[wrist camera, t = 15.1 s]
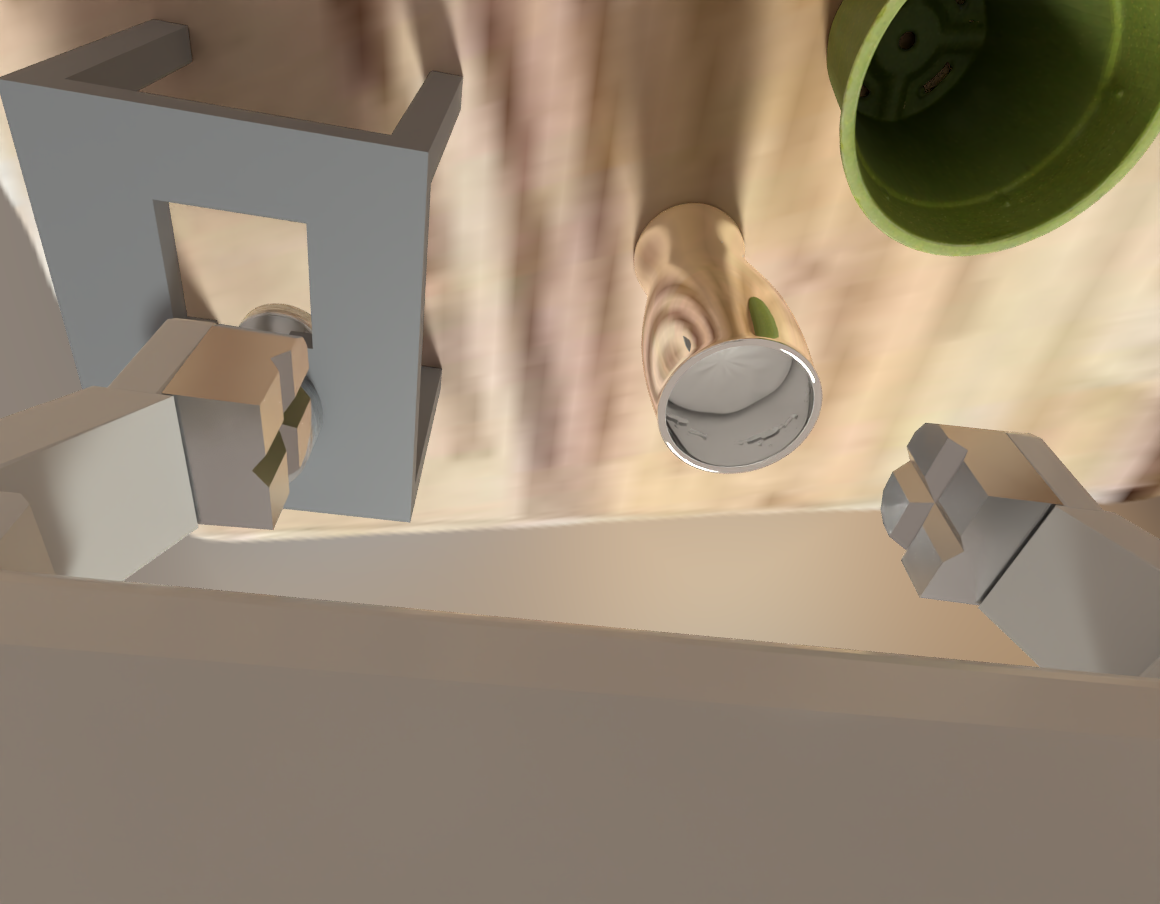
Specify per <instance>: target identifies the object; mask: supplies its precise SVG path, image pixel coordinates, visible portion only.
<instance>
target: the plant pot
mask: <svg viewBox="0 0 1160 904" xmlns="http://www.w3.org/2000/svg"><path fill="white" fill-rule="evenodd" d="M970 20H973V21H974V22H970ZM906 32H912V33H914V35H915V43H914V45H913V46H912V47H911V48H910V49H907V50H905V49H902V48H900V46H899V40H900V38H901V36H902V35H903V34H904V33H906ZM947 62H948V63H949V64H950V66H951V67H952V69H951V71H950V72H949V74H948V75H947V76H946V77H945V78H944V79H943V80H942V81H941V82H940V83H939V84H938V85H937V86H936V87H935V88H934V89H933V90H932V91H930V92H929V93H925V89H924V88H923V85H924V84H926V83H927V82H929V81H930V80H931V79H932V78H933V77H934V76H935V75H936V74H937V73H938V72H939V71H941V69H942V68H943V67H944V66H945V64H946V63H947ZM827 69H828V75H829V78H830V82H831V85H832V88H833V91H834V93H835V96H836V99H837V102H838V104H839V107H840V109H841V117H840V152H841V159H842V164H843V168H844V172H845V175H846V178H847V182H848V184H849V187H850V189H851V192H852V194H853V196H854V198H855V200H856V202H857V203H858V205H859V207H860V208H861V209H862V211H863V212H864V214H865V215H866V216H867V217H868V219H869V220H870V221H871V222H872V223H873V224H874V225H875V226H876V227H877V228H879V229H880V230H881V231H882V232H883V233H885V234H886V235H887V236H889V237H890V238H892V239H894V240H895V241H897V242H899V243H901V244H903V245H905V246H907V247H910V248H912V249H915V250H919V251H922V252H926V253H930V254H935V255H943V256H971V255H980V254H987V253H992V252H998V251H1002V250H1006V249H1009V248H1013V247H1016V246H1018V245H1021V244H1023V243H1026V242H1029V241H1031V240H1033V239H1035V238H1038V237H1040V236H1043V235H1045V234H1047V233H1049V232H1051V231H1053V230H1055V229H1056V228H1058V227H1060V226H1062V225H1063V224H1065V223H1067V222H1068V221H1070V220H1071V219H1073V218H1074V217H1076V216H1077V215H1079V214H1080V213H1082V212H1083V211H1085V210H1086V209H1087V208H1089V207H1090V206H1091V205H1093V204H1094V203H1095V202H1097V201H1098V200H1099V199H1100V198H1101V197H1102V196H1103V195H1105V194H1106V193H1107V192H1108V191H1109V190H1111V189H1112V188H1113V187H1114V186H1115V185H1116V184H1117V183H1118V182H1119V181H1120V180H1121V179H1122V178H1123V177H1124V176H1125V175H1126V174H1127V173H1128V172H1129V171H1130V170H1131V169H1132V168H1133V167H1134V165H1135V164H1136V163H1137V162H1138V161H1139V159H1140V158H1141V157H1142V156H1143V154H1144V153H1145V152H1146V151H1147V149H1148V148H1149V146H1150V145H1151V144H1152V142H1153V141H1154V139H1155V138H1156V136H1157V135H1158V134H1159V132H1160V0H966V1H965V2H964V3H963V4H958V3H957V2H956V0H843V1H842V3H841V5H840V7H839V9H838V11H837V13H836V15H835V17H834V20H833V22H832V26H831V30H830V33H829V40H828V46H827ZM862 84H863V85H864V86H865V87H866V88H867V89H868V90H869V91H870V93H869V94H868V95H867V96H865V97H859V96H860V91H861V87H862ZM904 105H905V106H904Z"/></svg>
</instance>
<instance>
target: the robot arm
mask: <svg viewBox="0 0 1160 904" xmlns="http://www.w3.org/2000/svg"><path fill="white" fill-rule="evenodd" d="M308 369H309V363H308V351H307V344H306V342H305V340H304V338H303V337H301V336H294V335H288V334H281V333H275V332H269V331H262V330H256V329H249V328H243V327H236V326H230V325H223V324H218V325H217V324H216V323H214V322H205V321H197V320H189V319H180V318H173V319H168V320H166V321H165V322H164V323H163V325H162V326H161V327H160V328H159V329H158V330H157V331H156V332H155V334H154V335H153V336H152V337H151V338H150V339H149V340H148V342H147V343H146V344H145V345H144V346H143V347H142V348H141V350H140V351H139V352H138V353H137V354H136V355H135V356H134V358H133V359H132V360H131V361H130V362H129V363H128V364H127V366H126V367H125V368H124V369H123V370H122V371H121V372H120V374H119V375H118V376H117V377H116V378H115V379H114V380H113V382H112V383H111V384H110V385H109V386H108V387H98V386H91V387H88V388H85V389H83V390H80V391H77V392H74V393H72V394H69V395H66V396H63V397H60V398H57V399H55V400H52V401H49V402H46V403H43V404H40V405H37V406H35V407H32V408H29V409H26V410H24V411H21V412H18V413H15V414H12V415H9V416H6V417H3V418H1V419H0V904H1160V539H1158V538H1157V537H1155V536H1153V535H1151V534H1150V533H1148V532H1146V531H1145V530H1143V529H1141V528H1140V527H1138V526H1136V525H1135V524H1133V523H1131V522H1130V521H1128V520H1126V519H1125V518H1123V517H1121V516H1120V515H1118V514H1116V513H1114V512H1107V511H1103V510H1102V508H1101V507H1100V506H1099V505H1098V504H1097V503H1096V501H1095V500H1094V499H1093V498H1092V497H1091V496H1090V494H1089V493H1088V492H1087V491H1086V490H1085V489H1084V487H1083V486H1082V485H1081V484H1080V483H1079V482H1078V481H1077V479H1076V478H1075V477H1074V476H1073V475H1072V474H1071V472H1070V471H1069V470H1068V469H1067V468H1066V467H1065V465H1064V464H1063V463H1062V462H1061V461H1060V460H1059V458H1058V457H1057V456H1056V455H1055V454H1054V453H1053V451H1052V450H1051V449H1050V448H1049V447H1048V446H1047V444H1046V443H1045V442H1044V441H1043V440H1042V439H1041V438H1039V437H1037V436H1035V435H1032V434H1030V433H1019V432H1009V431H998V430H988V429H979V428H969V427H960V426H951V425H942V424H932V423H925V424H924V425H923V426H921V427H920V428H919V429H918V430H917V431H916V432H915V433H914V435H913V437H912V439H911V440H910V442H909V444H908V445H907V450H908V454H909V458H910V461H909V462H907V463H906V464H904V465H902V466H901V467H899V468H898V469H896V470H895V471H893V472H892V474H891V476H890V478H889V480H888V482H887V484H886V486H885V488H884V490H883V497H882V504H881V513H882V519H883V524H884V526H885V528H886V530H887V533H888V535H889V537H891V538H892V539H893V540H894V541H896V542H897V543H898V544H899V545H901V546H902V547H903V548H904V549H905V550H906V551H905V553H904V555H903V558H902V560H901V561H902V563H903V565H904V567H905V569H906V571H907V573H908V575H909V577H910V579H911V581H912V583H913V585H914V587H915V589H916V591H917V593H918V595H919V597H921V598H928V599H936V600H943V601H951V602H959V603H966V604H973V605H980V606H979V609H980V610H981V611H982V612H983V613H984V614H985V615H986V616H987V617H988V618H989V619H990V620H991V621H993V622H994V623H995V624H996V625H997V626H998V627H999V628H1000V629H1001V630H1002V631H1003V632H1004V633H1005V634H1006V635H1007V636H1008V637H1009V638H1010V639H1011V640H1012V641H1013V642H1014V643H1016V644H1017V645H1018V646H1019V647H1020V648H1021V649H1022V650H1023V651H1024V652H1025V653H1026V654H1027V655H1028V656H1029V657H1030V658H1031V659H1032V660H1033V661H1034V662H1035V663H1036V664H1038V665H1039V666H1040V667H1031V666H1020V665H1009V664H999V663H989V662H978V661H967V660H957V659H945V658H936V657H925V656H914V655H904V654H893V653H883V652H872V651H860V650H851V649H840V648H829V647H819V646H807V645H797V644H786V643H774V642H765V641H754V640H743V639H732V638H721V637H710V636H699V635H689V634H679V633H668V632H657V631H647V630H636V629H626V628H615V627H604V626H593V625H583V624H572V623H562V622H551V621H541V620H530V619H519V618H509V617H498V616H487V615H477V614H466V613H455V612H445V611H434V610H424V609H413V608H402V607H392V606H381V605H370V604H360V603H349V602H339V601H328V600H318V599H317V600H316V599H307V598H296V597H286V596H275V595H265V594H254V593H243V592H232V591H222V590H221V591H220V590H212V589H201V588H190V587H180V586H169V585H158V584H147V583H137V582H127V581H124V580H125V579H126V578H128V577H129V576H131V575H132V574H134V573H135V572H136V571H138V570H139V569H141V568H142V567H143V566H145V565H146V564H147V563H149V562H150V561H152V560H153V559H154V558H156V557H157V556H159V555H160V554H162V553H163V552H165V551H166V550H167V549H168V548H170V547H172V546H173V545H174V544H176V543H177V542H178V541H180V540H181V539H183V538H184V537H186V536H187V535H189V534H190V533H191V532H193V531H194V530H196V529H197V528H198V524H205V525H218V526H231V527H243V528H256V529H269V530H273V529H274V527H275V525H276V522H277V520H278V518H279V516H280V513H281V511H282V509H283V506H284V504H285V502H286V500H287V497H288V495H289V479H288V475H290V474H292V473H294V472H295V471H297V470H299V469H300V467H301V465H302V462H303V460H304V457H305V455H306V451H307V446H308V441H309V436H310V430H311V398H310V397H309V396H308V394H307V393H306V392H305V391H304V390H303V388H302V387H301V384H302V382H303V380H304V378H305V376H306V374H307V371H308Z"/></svg>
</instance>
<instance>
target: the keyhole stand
mask: <svg viewBox="0 0 1160 904" xmlns="http://www.w3.org/2000/svg"><path fill="white" fill-rule="evenodd" d="M191 62H192V55H191V47H190V40H189V32H188V26H186V25H181V24H175V23H170V22H165V21H159V20H154V19H153V20H150V21H147V22H145V23H142V24H139V25H137V26H134V27H131V28H129V29H126V30H123V31H121V32H118V33H116V34H113V35H110V36H108V37H105V38H102V39H100V40H97V41H94V42H92V43H89V44H86V45H84V46H81V47H78V48H76V49H73V50H70V51H68V52H65V53H62V54H60V55H57V56H55V57H52V58H49V59H47V60H44V61H41V62H39V63H36V64H33V65H31V66H28V67H25V68H23V69H20V70H17V71H15V72H12V73H9V74H7V75H4V76H1V77H0V95H1V99H2V102H3V106H4V109H5V113H6V117H7V120H8V124H9V127H10V131H11V134H12V138H13V142H14V145H15V149H16V152H17V156H18V160H19V163H20V167H21V170H22V174H23V178H24V181H25V185H26V188H27V192H28V196H29V199H30V203H31V206H32V210H33V213H34V217H35V221H36V224H37V228H38V231H39V235H40V239H41V242H42V246H43V249H44V253H45V257H46V260H47V264H48V267H49V271H50V275H51V278H52V282H53V285H54V289H55V292H56V296H57V300H58V303H59V307H60V310H61V314H62V318H63V321H64V325H65V328H66V332H67V336H68V339H69V343H70V346H71V350H72V354H73V357H74V361H75V364H76V368H77V371H78V375H79V379H80V382H81V386H82V389H85V388H88V387H91V386H98V387H108V386H109V385H110V384H111V383H112V382H113V380H114V379H115V378H116V377H117V376H118V375H119V374H120V372H121V371H122V370H123V369H124V368H125V367H126V366H127V364H128V363H129V362H130V361H131V360H132V359H133V358H134V356H135V355H136V354H137V353H138V352H139V351H140V350H141V348H142V347H143V346H144V345H145V344H146V343H147V342H148V340H149V339H150V338H151V337H152V336H153V335H154V334H155V332H156V331H157V330H158V329H159V328H160V327H161V326H162V325H163V323H164V322H165V321H166V320H168V319H173V318H180V319H189V320H197V321H205V322H214V323H216V324H217V325H218V323H217V320H210V319H203V318H196V317H188V316H187V312H186V306H185V300H184V294H183V288H182V282H181V276H180V270H179V264H178V257H177V251H176V245H175V239H174V233H173V227H172V221H171V215H170V209H169V203H168V202H172V203H179V204H185V205H192V206H198V207H205V208H211V209H217V210H224V211H230V212H237V213H243V214H249V215H256V216H262V217H269V218H275V219H281V220H288V221H294V222H301V223H307V243H308V263H309V283H310V302H311V322H312V334H311V333H304V332H297V331H291V332H290V333H289V335H294V336H301V337H303V338H304V340H305V342H306V344H307V351H308V363H309V369H308V371H307V374H306V377H307V378H308V379H309V380H310V382H311V383H312V384H313V386H314V387H315V389H316V391H317V393H318V395H319V397H320V400H321V404H322V408H323V422H322V427H321V429H320V432H319V434H318V436H317V439H316V441H315V444H314V446H313V448H312V451H311V453H310V455H309V458H308V460H307V462H306V465H305V467H304V469H303V470H302V472H301V473H300V474H299V475H298V476H297V478H295V479H294V480H293V481H292V482H290V483H289V495H288V497H287V500H286V502H285V504H284V506H283V509H292V510H301V511H310V512H319V513H328V514H338V515H347V516H356V517H365V518H374V519H383V520H392V521H402V522H410V521H411V517H412V512H413V508H414V504H415V499H416V495H417V490H418V486H419V482H420V477H421V473H422V468H423V464H424V459H425V455H426V451H427V446H428V442H429V437H430V433H431V429H432V424H433V420H434V415H435V411H436V406H437V402H438V398H439V393H440V388H441V374H442V369H439V368H432V367H425V366H421V361H422V342H423V323H424V304H425V285H426V266H427V246H428V227H429V208H430V189H431V182H432V179H433V177H434V174H435V172H436V169H437V167H438V164H439V162H440V160H441V157H442V155H443V152H444V150H445V147H446V145H447V142H448V140H449V137H450V135H451V132H452V130H453V127H454V125H455V122H456V120H457V117H458V115H459V112H460V110H461V97H462V84H463V76H458V75H452V74H447V73H441V72H436V71H431V72H430V73H429V75H428V77H427V78H426V80H425V81H424V83H423V85H422V86H421V88H420V89H419V91H418V93H417V94H416V96H415V97H414V99H413V101H412V102H411V104H410V105H409V107H408V109H407V110H406V112H405V113H404V115H403V117H402V118H401V120H400V121H399V123H398V125H397V126H396V128H395V129H394V131H393V133H392V134H391V135H387V134H381V133H375V132H369V131H364V130H358V129H352V128H346V127H340V126H335V125H329V124H323V123H317V122H311V121H306V120H300V119H294V118H288V117H282V116H277V115H271V114H265V113H259V112H253V111H248V110H242V109H236V108H230V107H225V106H219V105H213V104H207V103H201V102H196V101H190V100H184V99H178V98H172V97H167V96H161V95H155V94H149V93H143V92H138V90H140V89H142V88H144V87H146V86H148V85H150V84H152V83H153V82H155V81H157V80H159V79H161V78H163V77H165V76H167V75H168V74H170V73H172V72H174V71H176V70H178V69H180V68H182V67H183V66H185V65H187V64H189V63H191Z"/></svg>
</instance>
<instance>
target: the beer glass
mask: <svg viewBox="0 0 1160 904" xmlns="http://www.w3.org/2000/svg"><path fill="white" fill-rule="evenodd" d="M634 268H635V273H636V276H637V279H638V282H639V284H640V285H641V287H642V289H643V290H644V292H645V293H646V295H647V301H646V307H645V313H644V319H643V326H642V341H641V352H642V361H643V370H644V375H645V380H646V384H647V389H648V393H649V396H650V399H651V403H652V406H653V409H654V412H655V415H656V418H657V421H658V427H659V431H660V434H661V436H662V438H663V440H664V442H665V444H666V445H667V447H668V448H669V449H670V450H671V452H672V453H673V454H674V455H676V456H677V457H678V458H679V459H681V460H682V461H683V462H685V463H687V464H689V465H691V466H693V467H695V468H698V469H701V470H704V471H708V472H713V473H723V474H733V473H743V472H749V471H753V470H757V469H760V468H763V467H766V466H768V465H771V464H773V463H775V462H777V461H779V460H780V459H782V458H784V457H785V456H787V455H788V454H790V453H791V452H792V451H794V450H795V449H796V448H797V447H798V446H799V445H800V444H801V443H802V442H803V441H804V440H805V439H806V438H807V436H808V435H809V434H810V432H811V431H812V429H813V428H814V426H815V424H816V422H817V420H818V417H819V414H820V411H821V406H822V386H821V381H820V378H819V376H818V373H817V371H816V370H815V368H814V365H813V362H812V358H811V355H810V352H809V349H808V347H807V344H806V341H805V338H804V336H803V334H802V332H801V329H800V327H799V325H798V323H797V321H796V319H795V317H794V315H793V313H792V312H791V310H790V308H789V307H788V305H787V303H786V302H785V300H784V299H783V297H782V296H781V295H780V294H779V292H778V291H777V290H776V289H775V288H774V287H773V286H772V284H771V283H770V282H769V281H768V280H767V279H766V278H765V277H764V276H763V275H762V274H760V273H759V272H758V271H757V270H756V269H755V268H754V267H753V266H752V265H750V264H749V263H748V262H747V261H746V260H745V247H744V241H743V238H742V235H741V232H740V230H739V228H738V226H737V225H736V223H735V222H734V221H733V220H732V218H730V217H729V216H728V215H727V214H726V213H725V212H723V211H722V210H720V209H718V208H716V207H714V206H711V205H707V204H702V203H686V204H681V205H677V206H674V207H671V208H669V209H667V210H665V211H663V212H662V213H660V214H659V215H657V216H656V217H655V218H654V219H652V220H651V221H650V222H649V224H648V225H647V226H646V227H645V229H644V230H643V232H642V233H641V235H640V237H639V239H638V242H637V244H636V248H635V253H634Z"/></svg>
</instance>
